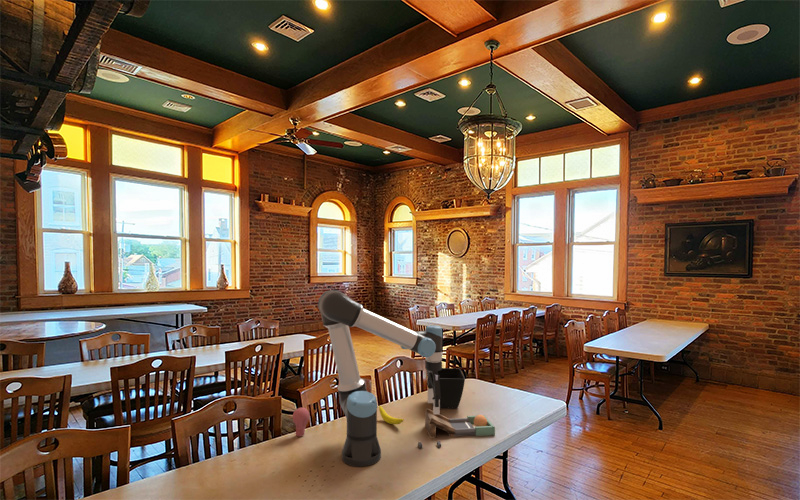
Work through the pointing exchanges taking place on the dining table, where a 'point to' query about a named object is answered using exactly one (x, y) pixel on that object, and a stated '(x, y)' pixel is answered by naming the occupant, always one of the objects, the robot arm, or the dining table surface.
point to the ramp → (437, 423)
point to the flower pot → (450, 387)
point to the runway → (462, 427)
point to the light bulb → (300, 420)
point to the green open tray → (482, 427)
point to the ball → (480, 421)
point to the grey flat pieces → (437, 444)
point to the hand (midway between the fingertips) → (433, 408)
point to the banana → (389, 417)
